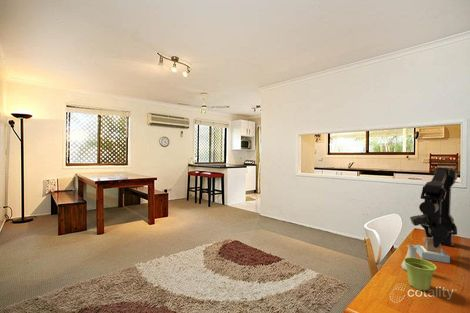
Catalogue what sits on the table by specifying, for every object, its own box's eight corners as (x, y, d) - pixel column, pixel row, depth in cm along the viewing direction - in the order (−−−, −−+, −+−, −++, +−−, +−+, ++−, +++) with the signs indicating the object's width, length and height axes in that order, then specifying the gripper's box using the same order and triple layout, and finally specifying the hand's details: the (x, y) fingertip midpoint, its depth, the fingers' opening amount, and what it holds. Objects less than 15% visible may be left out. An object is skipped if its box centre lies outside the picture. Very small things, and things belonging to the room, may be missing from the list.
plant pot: (438, 297, 79) (439, 272, 79) (404, 288, 84) (404, 264, 84) (433, 284, 87) (433, 261, 87) (402, 276, 92) (402, 255, 92)
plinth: (415, 250, 117) (415, 244, 117) (440, 254, 113) (441, 247, 113) (421, 258, 108) (422, 252, 108) (449, 263, 104) (449, 256, 104)
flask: (414, 265, 102) (415, 243, 101) (427, 274, 94) (427, 250, 94) (397, 265, 102) (397, 242, 102) (408, 273, 95) (408, 249, 95)
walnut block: (423, 246, 114) (423, 236, 114) (436, 248, 112) (436, 238, 112) (427, 250, 109) (427, 240, 109) (440, 252, 107) (440, 242, 107)
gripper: (407, 205, 122) (406, 234, 122) (417, 214, 105) (416, 248, 105) (434, 207, 117) (433, 238, 118) (449, 217, 100) (448, 253, 101)
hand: (432, 244), depth 110 cm, fingers open, 9 cm apart
